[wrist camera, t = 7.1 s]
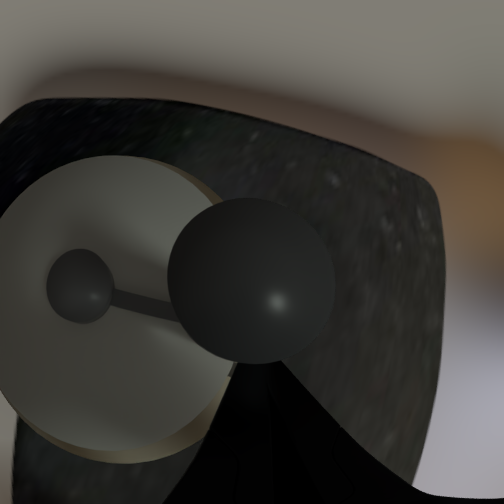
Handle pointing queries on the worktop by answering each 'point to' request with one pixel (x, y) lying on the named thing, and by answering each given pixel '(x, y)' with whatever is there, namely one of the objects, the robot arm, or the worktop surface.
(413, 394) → the worktop surface
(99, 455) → the dial base
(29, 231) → the dial
